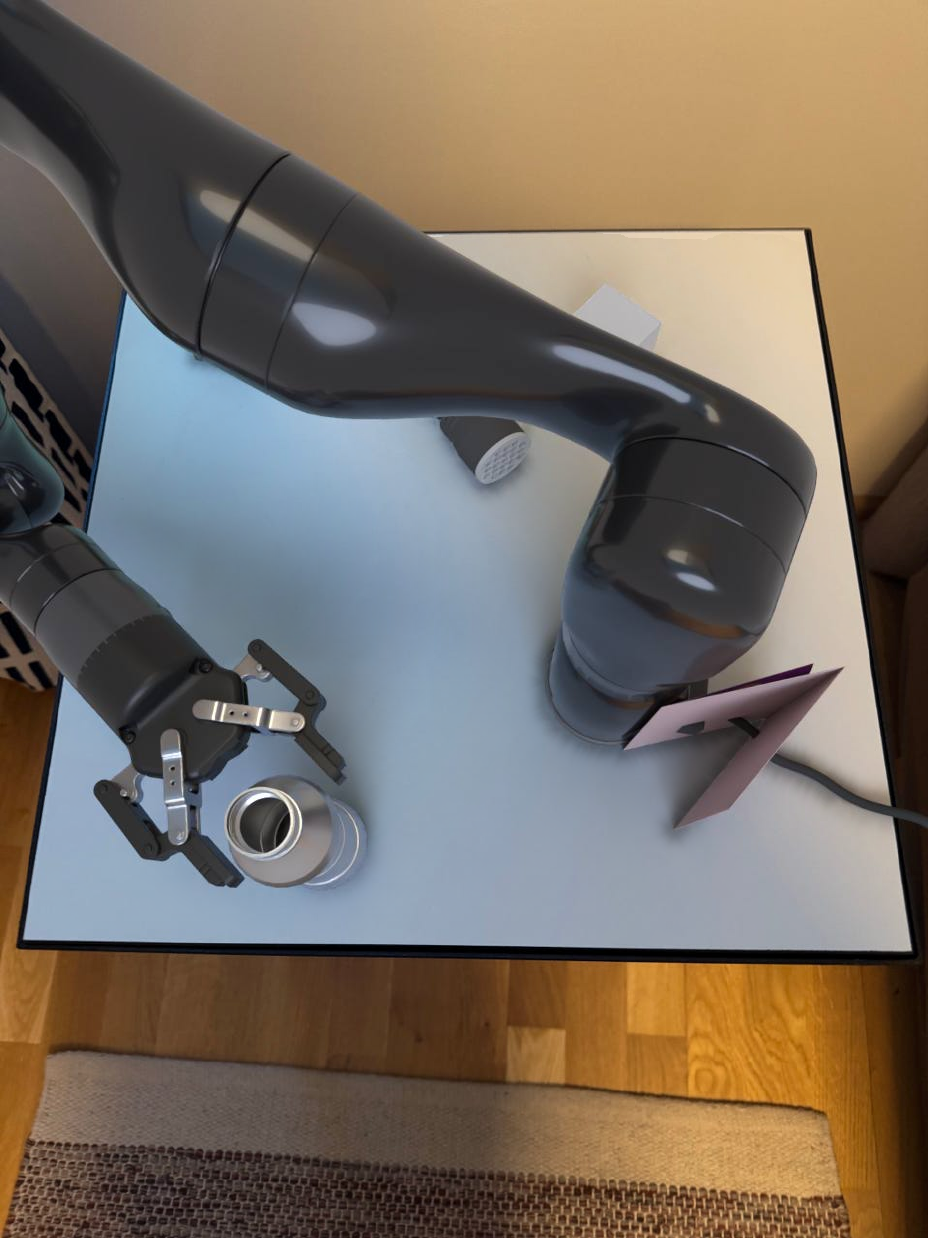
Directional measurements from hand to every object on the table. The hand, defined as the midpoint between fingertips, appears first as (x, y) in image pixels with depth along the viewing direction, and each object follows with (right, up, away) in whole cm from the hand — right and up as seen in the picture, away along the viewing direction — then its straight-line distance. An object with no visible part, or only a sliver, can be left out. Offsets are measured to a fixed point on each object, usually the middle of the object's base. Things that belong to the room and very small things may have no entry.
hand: (290, 830), depth 51 cm
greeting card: (+29, +1, +12) cm, 32 cm away
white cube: (+23, +35, +24) cm, 48 cm away
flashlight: (+10, +31, +23) cm, 40 cm away
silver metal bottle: (0, -4, +12) cm, 12 cm away
